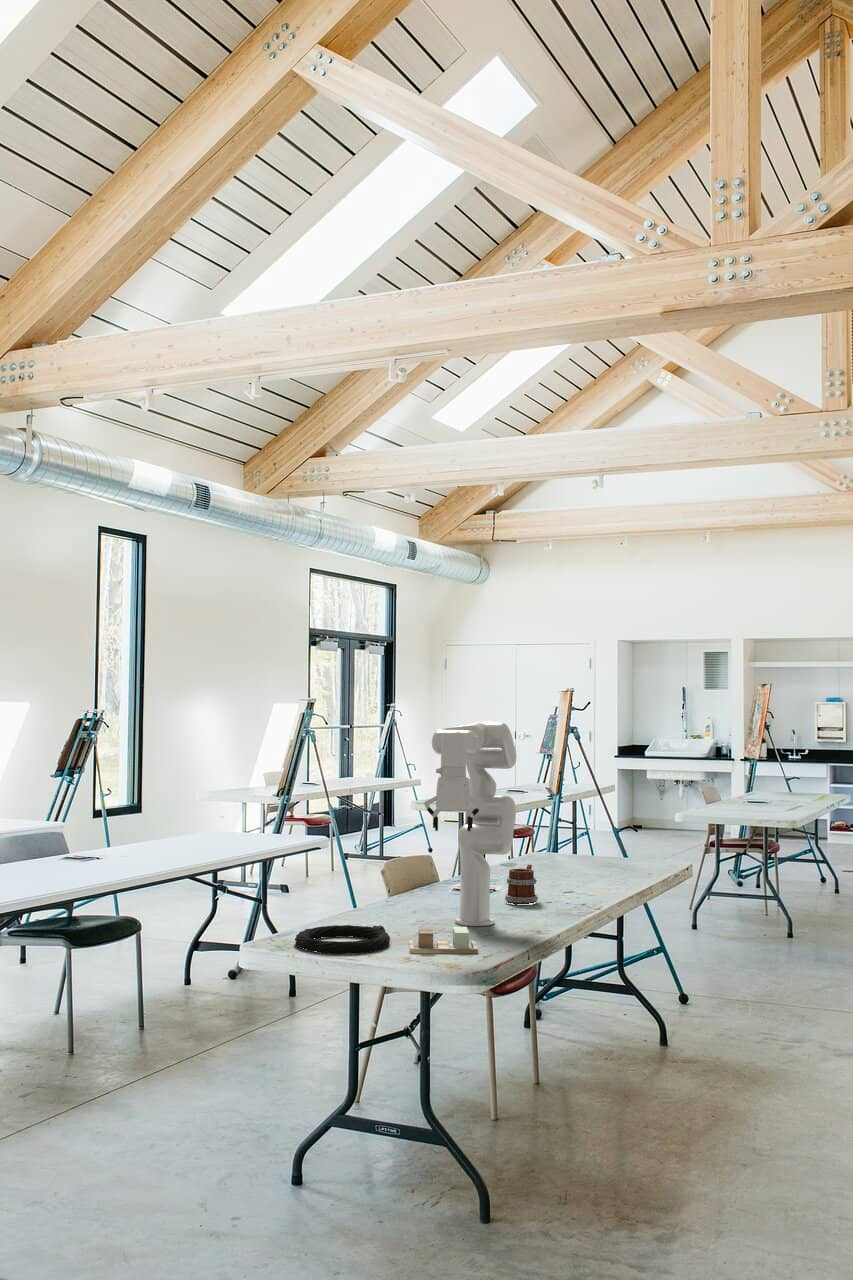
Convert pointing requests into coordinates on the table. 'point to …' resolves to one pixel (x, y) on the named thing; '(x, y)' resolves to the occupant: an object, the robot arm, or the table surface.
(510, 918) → the table surface
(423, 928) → the walnut bar
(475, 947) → the oak rack
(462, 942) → the sage bar
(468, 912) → the robot arm
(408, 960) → the table surface
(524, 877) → the mug
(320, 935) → the cable lock
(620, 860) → the table surface
